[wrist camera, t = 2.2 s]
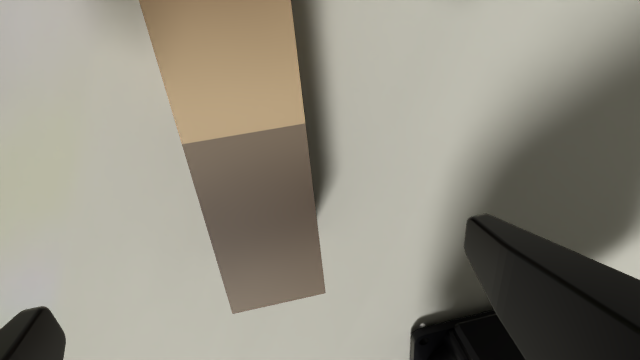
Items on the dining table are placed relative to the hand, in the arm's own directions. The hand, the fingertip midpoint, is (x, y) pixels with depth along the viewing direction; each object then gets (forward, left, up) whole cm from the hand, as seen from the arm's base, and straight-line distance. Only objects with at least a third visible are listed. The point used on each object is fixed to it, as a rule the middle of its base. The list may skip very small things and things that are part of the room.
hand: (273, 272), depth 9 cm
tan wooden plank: (+3, 0, -6) cm, 6 cm away
